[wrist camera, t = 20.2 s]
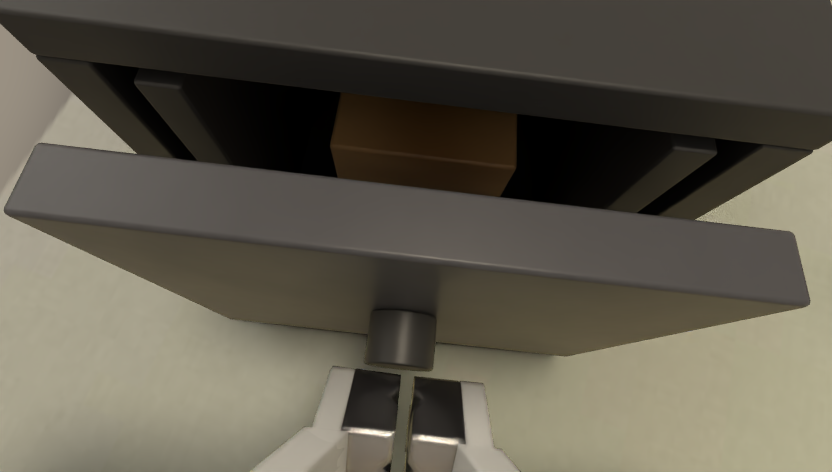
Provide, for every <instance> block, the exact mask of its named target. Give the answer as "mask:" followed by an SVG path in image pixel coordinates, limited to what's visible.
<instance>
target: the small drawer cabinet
mask: <svg viewBox="0 0 832 472" xmlns="http://www.w3.org/2000/svg"><path fill="white" fill-rule="evenodd" d="M0 24H1V25H3V27H5V28H6V29H7V30H8V31H9V32H10V33H11V34H12V35H13V36H14V37H15V38H16V39H17V40H18V41H19V42H20V43H21V44H23V46H25V47H26V48H27V49H28V50H29V51H30V52H31V53H33V54H36V57H37V59H38V60H39V61H40V62H41V63H42V64H43V65H44V66H45V67H46V68H47V69H48V70H49V71H51V72H52V73H53V74H54V75H55V76H56V77H57V78H58V79H59V80H60V81H61V82H62V83H63V84H64V85H65V86H66V87H67V88H68V89H70V90H71V91H72V92H73V93H74V94H75V95H76V96H77V97H78V98H79V99H80V100H81V101H82V102H83V103H84V104H85V105H86V106H87V107H88V108H90V109H91V110H92V111H93V112H94V113H95V114H96V115H97V116H98V117H99V118H100V119H101V120H102V121H103V122H104V123H105V124H106V125H107V126H109V127H110V128H111V129H112V130H113V131H114V132H115V133H116V134H117V135H118V136H119V137H120V138H121V139H122V140H123V141H124V142H125V143H126V144H128V145H129V146H130V147H131V148H132V149H133V150H134V151H135V152H136V153H137V154H140V155H149V156H157V157H166V158H174V159H182V160H191V161H198V160H197V159H196V158H195V157H194V156H193V154H192V153H191V152H190V151H189V150H188V148H187V147H186V146H185V145H184V143H183V142H182V141H181V140H180V139H179V137H178V136H177V135H176V134H175V133H174V131H173V130H172V129H171V128H170V127H169V125H168V124H167V123H166V122H165V120H164V119H163V118H162V117H161V116H160V114H159V113H158V112H157V111H156V110H155V108H154V107H153V106H152V105H151V104H150V102H149V101H148V100H147V99H146V97H145V96H144V95H143V94H142V93H141V91H140V90H139V89H138V88H137V87H136V85H135V84H134V79H135V77H136V74H137V72H138V70H139V68H146V69H154V70H162V71H171V72H179V73H187V74H195V75H203V76H211V77H220V78H228V79H236V80H244V81H252V82H260V83H268V84H277V85H285V86H293V87H301V88H309V89H317V90H325V91H334V92H342V93H350V94H358V95H366V96H374V97H383V98H391V99H399V100H407V101H415V102H423V103H431V104H440V105H448V106H456V107H464V108H472V109H480V110H489V111H497V112H505V113H513V114H521V115H529V116H537V117H546V118H554V119H562V120H570V121H578V122H586V123H594V124H603V125H611V126H619V127H627V128H635V129H643V130H652V131H660V132H668V133H676V134H684V135H692V136H700V137H709V138H715V142H716V148H717V154H716V155H715V156H714V157H712V158H711V159H710V160H708V161H707V162H706V163H704V164H703V165H701V166H700V167H699V168H697V169H696V170H695V171H693V172H692V173H690V174H689V175H688V176H686V177H685V178H684V179H682V180H681V181H679V182H678V183H677V184H675V185H674V186H673V187H671V188H670V189H668V190H667V191H666V192H664V193H663V194H662V195H660V196H659V197H657V198H656V199H655V200H653V201H652V202H651V203H649V204H648V205H646V206H645V207H644V208H642V209H641V210H640V211H638V212H637V213H638V214H646V215H655V216H663V217H672V218H680V219H689V220H695V219H697V218H699V217H700V216H702V215H704V214H706V213H707V212H709V211H711V210H713V209H714V208H716V207H718V206H720V205H721V204H723V203H725V202H727V201H729V200H730V199H732V198H734V197H736V196H737V195H739V194H741V193H743V192H744V191H746V190H748V189H750V188H751V187H753V186H755V185H757V184H759V183H760V182H762V181H764V180H766V179H767V178H769V177H771V176H773V175H774V174H776V173H778V172H780V171H781V170H783V169H785V168H787V167H789V166H790V165H792V164H794V163H796V162H797V161H799V160H801V159H803V158H804V157H806V156H808V155H810V154H811V153H812V152H813V150H815V149H819V148H821V147H822V146H824V145H826V144H828V143H829V142H831V141H832V5H831V2H830V0H0Z"/></svg>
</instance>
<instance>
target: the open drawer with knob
mask: <svg viewBox="0 0 832 472" xmlns="http://www.w3.org/2000/svg"><path fill="white" fill-rule="evenodd" d="M134 84H135V85H136V87H137V88H138V89H139V90H140V91H141V93H142V94H143V95H144V96H145V97H146V99H147V100H148V101H149V102H150V104H151V105H152V106H153V107H154V108H155V110H156V111H157V112H158V113H159V114H160V116H161V117H162V118H163V119H164V120H165V122H166V123H167V124H168V125H169V127H170V128H171V129H172V130H173V131H174V133H175V134H176V135H177V136H178V137H179V139H180V140H181V141H182V142H183V143H184V145H185V146H186V147H187V148H188V150H189V151H190V152H191V153H192V154H193V156H194V157H195V158H196V159H197V160H198V161H191V160H182V159H174V158H166V157H157V156H149V155H140V154H132V153H123V152H115V151H106V150H98V149H90V148H81V147H73V146H64V145H56V144H47V143H38V144H37V145H36V146H35V147H34V149H33V151H32V153H31V155H30V157H29V159H28V161H27V163H26V165H25V167H24V169H23V171H22V173H21V175H20V177H19V179H18V181H17V183H16V185H15V187H14V189H13V191H12V193H11V195H10V197H9V199H8V201H7V203H6V205H5V207H4V212H5V214H7V215H8V216H10V217H12V218H14V219H16V220H19V221H21V222H23V223H25V224H27V225H29V226H32V227H34V228H36V229H38V230H40V231H42V232H44V233H47V234H49V235H51V236H53V237H55V238H57V239H60V240H62V241H64V242H66V243H68V244H70V245H72V246H75V247H77V248H79V249H81V250H83V251H85V252H88V253H90V254H92V255H94V256H96V257H98V258H100V259H103V260H105V261H107V262H109V263H111V264H113V265H116V266H118V267H120V268H122V269H124V270H126V271H128V272H131V273H133V274H135V275H137V276H139V277H141V278H144V279H146V280H148V281H150V282H152V283H154V284H156V285H159V286H161V287H163V288H165V289H167V290H169V291H172V292H174V293H176V294H178V295H180V296H182V297H184V298H187V299H189V300H191V301H193V302H195V303H197V304H200V305H202V306H204V307H206V308H208V309H210V310H212V311H215V312H217V313H219V314H221V315H223V316H225V317H228V318H230V319H235V320H244V321H253V322H262V323H271V324H280V325H289V326H298V327H307V328H316V329H325V330H334V331H343V332H352V333H361V334H368V337H367V344H366V351H365V358H364V363H365V364H367V365H371V366H377V367H384V368H392V369H400V370H411V371H432V370H433V364H434V352H435V342H442V343H451V344H460V345H469V346H478V347H487V348H496V349H505V350H514V351H523V352H532V353H541V354H550V355H559V356H570V355H575V354H580V353H585V352H590V351H594V350H599V349H604V348H609V347H614V346H619V345H624V344H629V343H633V342H638V341H643V340H648V339H653V338H658V337H663V336H667V335H672V334H677V333H682V332H687V331H692V330H697V329H701V328H706V327H711V326H716V325H721V324H726V323H731V322H736V321H740V320H745V319H750V318H755V317H760V316H765V315H770V314H774V313H779V312H784V311H789V310H794V309H799V308H803V307H806V306H808V305H810V297H809V293H808V289H807V285H806V281H805V276H804V272H803V268H802V264H801V260H800V255H799V251H798V247H797V243H796V239H795V236H794V234H793V233H792V232H790V231H781V230H773V229H764V228H756V227H748V226H739V225H731V224H722V223H714V222H705V221H697V220H689V219H680V218H672V217H663V216H655V215H646V214H638V213H637V212H638V211H640V210H641V209H642V208H644V207H645V206H646V205H648V204H649V203H651V202H652V201H653V200H655V199H656V198H657V197H659V196H660V195H662V194H663V193H664V192H666V191H667V190H668V189H670V188H671V187H673V186H674V185H675V184H677V183H678V182H679V181H681V180H682V179H684V178H685V177H686V176H688V175H689V174H690V173H692V172H693V171H695V170H696V169H697V168H699V167H700V166H701V165H703V164H704V163H706V162H707V161H708V160H710V159H711V158H712V157H714V156H715V155H716V154H717V148H716V142H715V138H709V137H700V136H692V135H684V134H676V133H668V132H660V131H652V130H643V129H635V128H627V127H619V126H611V125H603V124H594V123H586V122H578V121H570V120H562V119H554V118H546V117H537V116H529V115H521V114H517V163H516V169H515V171H514V173H513V175H512V177H511V178H510V180H509V182H508V184H507V185H506V187H505V189H504V191H503V192H502V194H501V196H500V197H495V196H486V195H478V194H469V193H461V192H452V191H444V190H435V189H427V188H419V187H410V186H402V185H393V184H385V183H376V182H368V181H360V180H351V179H343V178H338V177H337V173H336V169H335V165H334V160H333V156H332V152H331V148H330V142H331V137H332V132H333V127H334V123H335V118H336V113H337V108H338V103H339V98H340V93H341V92H334V91H325V90H317V89H309V88H301V87H293V86H285V85H277V84H268V83H260V82H252V81H244V80H236V79H228V78H220V77H211V76H203V75H195V74H187V73H179V72H171V71H162V70H154V69H146V68H139V70H138V72H137V74H136V77H135V79H134Z"/></svg>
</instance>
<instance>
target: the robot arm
mask: <svg viewBox="0 0 832 472" xmlns="http://www.w3.org/2000/svg"><path fill="white" fill-rule="evenodd" d="M400 380H401V375H398V374H391V373H384V372H377V371H370V370H363V369H352V368H345V367H338V366H333V367H332V368H331V370H330V371H329V375H328V378H327V381H326V384H325V387H324V390H323V393H322V396H321V399H320V403H319V406H318V409H317V412H316V415H315V418H314V421H313V424H312V427H303V428H302V429H301V430H299V431H298V432H297V433H296V434H295V435H293V436H292V437H291V438H290V439H288V440H287V441H286V442H285V443H284V444H282V445H281V446H280V447H279V448H277V449H276V450H275V451H274V452H273V453H271V454H270V455H269V456H268V457H266V458H265V459H264V460H263V461H262V462H260V463H259V464H258V465H257V466H255V467H254V468H253V469H252V470H251V471H249V472H390V470H391V461H392V456H393V447H394V439H395V430H396V421H397V411H398V399H399V391H400ZM405 452H406V458H405V465H404V472H521V471H520V470H519V469H518V468H517V466H516V465H515V464H514V463H513V462H512V460H511V459H510V458H509V457H508V456H507V455H506V453H505V452H504V451H503V450H502V449H498V448H494V441H493V435H492V429H491V423H490V416H489V410H488V404H487V398H486V391H485V386H484V385H483V383H477V382H467V381H460V382H459V381H454V380H445V379H436V378H426V377H417V376H414V381H413V387H412V398H411V405H410V408H409V415H408V423H407V432H406V445H405Z"/></svg>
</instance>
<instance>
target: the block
mask: <svg viewBox="0 0 832 472" xmlns="http://www.w3.org/2000/svg"><path fill="white" fill-rule="evenodd" d="M330 148H331V152H332V156H333V160H334V165H335V169H336V173H337V177H338V178H343V179H351V180H360V181H368V182H376V183H385V184H393V185H402V186H410V187H419V188H427V189H435V190H444V191H452V192H461V193H469V194H478V195H486V196H495V197H500V196H501V194H502V192H503V191H504V189H505V187H506V185H507V184H508V182H509V180H510V178H511V177H512V175H513V173H514V171H515V169H516V163H517V114H513V113H505V112H497V111H489V110H480V109H472V108H464V107H456V106H448V105H440V104H431V103H423V102H415V101H407V100H399V99H391V98H383V97H374V96H366V95H358V94H350V93H342V92H341V93H340V98H339V103H338V108H337V113H336V118H335V123H334V127H333V132H332V137H331V142H330Z"/></svg>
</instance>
